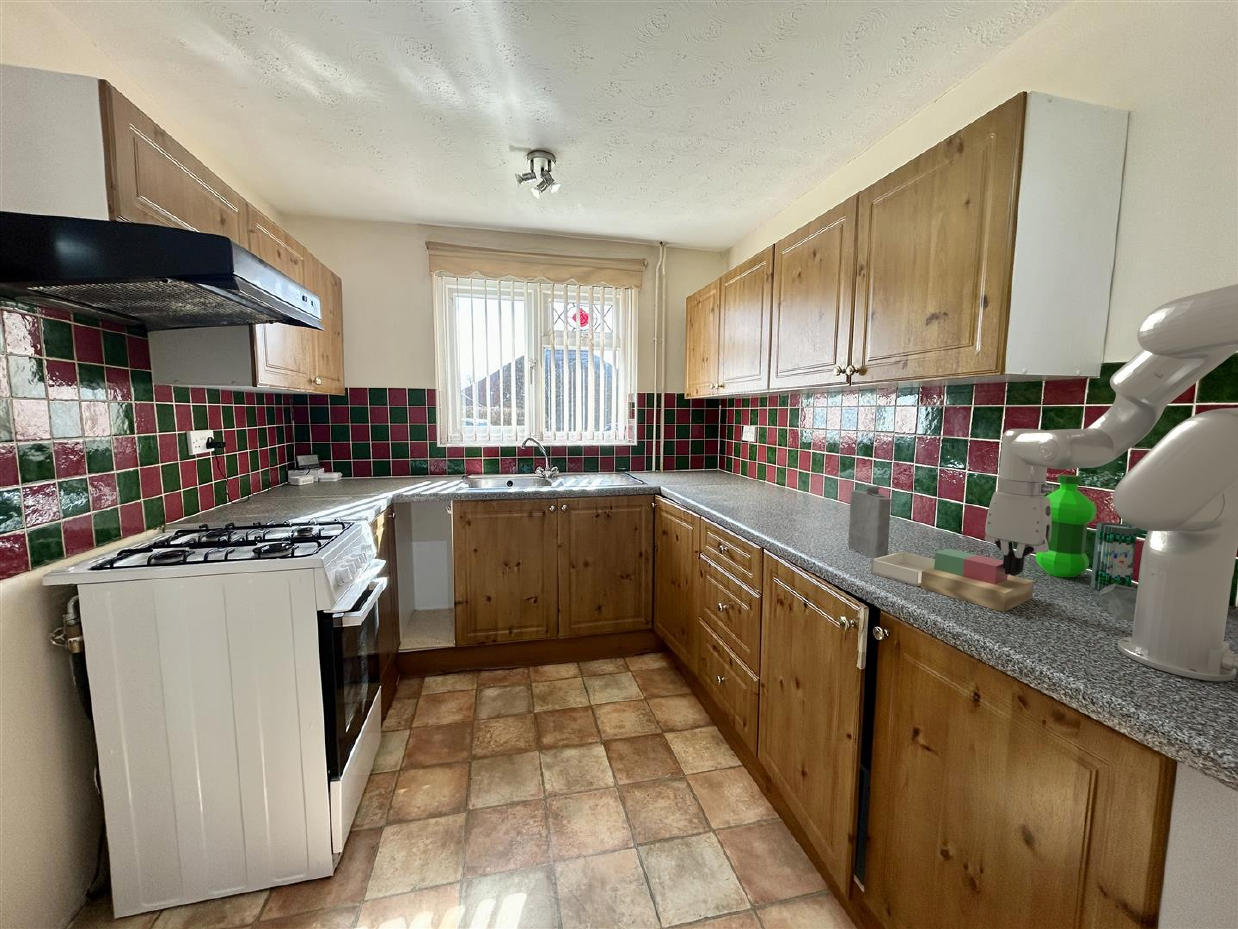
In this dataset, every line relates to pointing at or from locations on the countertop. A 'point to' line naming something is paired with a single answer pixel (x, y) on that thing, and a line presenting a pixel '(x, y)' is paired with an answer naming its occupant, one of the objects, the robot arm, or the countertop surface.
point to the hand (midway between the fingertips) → (1012, 573)
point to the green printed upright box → (1113, 555)
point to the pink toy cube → (984, 569)
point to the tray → (902, 567)
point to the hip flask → (869, 522)
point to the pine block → (979, 589)
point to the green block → (951, 561)
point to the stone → (1119, 600)
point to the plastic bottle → (1068, 529)
